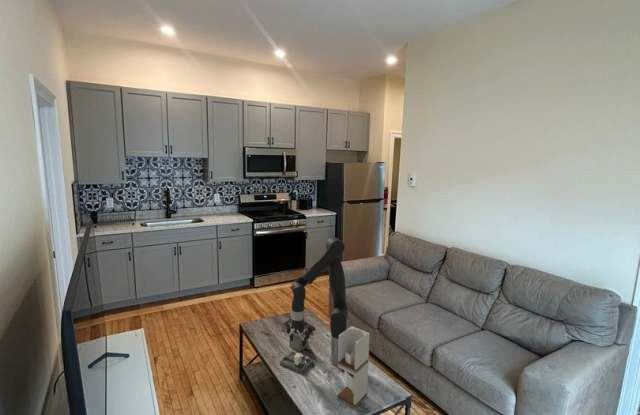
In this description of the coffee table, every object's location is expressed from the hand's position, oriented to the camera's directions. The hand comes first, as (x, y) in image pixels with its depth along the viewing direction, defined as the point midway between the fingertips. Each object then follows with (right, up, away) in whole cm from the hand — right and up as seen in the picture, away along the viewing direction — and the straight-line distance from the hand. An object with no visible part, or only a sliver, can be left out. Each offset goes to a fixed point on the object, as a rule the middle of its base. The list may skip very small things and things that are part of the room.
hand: (297, 342), depth 193 cm
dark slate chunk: (-2, -8, +46) cm, 47 cm away
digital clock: (-1, -12, +23) cm, 25 cm away
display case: (+29, -19, -21) cm, 41 cm away
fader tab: (0, -12, +2) cm, 13 cm away
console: (-1, -14, +5) cm, 15 cm away
